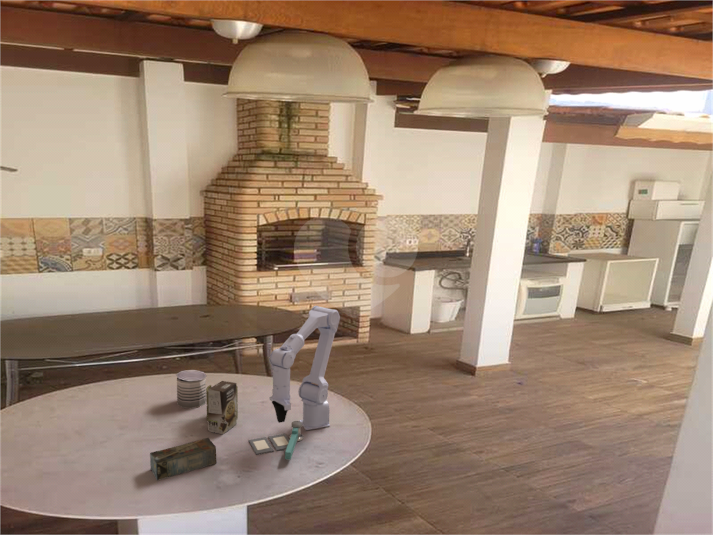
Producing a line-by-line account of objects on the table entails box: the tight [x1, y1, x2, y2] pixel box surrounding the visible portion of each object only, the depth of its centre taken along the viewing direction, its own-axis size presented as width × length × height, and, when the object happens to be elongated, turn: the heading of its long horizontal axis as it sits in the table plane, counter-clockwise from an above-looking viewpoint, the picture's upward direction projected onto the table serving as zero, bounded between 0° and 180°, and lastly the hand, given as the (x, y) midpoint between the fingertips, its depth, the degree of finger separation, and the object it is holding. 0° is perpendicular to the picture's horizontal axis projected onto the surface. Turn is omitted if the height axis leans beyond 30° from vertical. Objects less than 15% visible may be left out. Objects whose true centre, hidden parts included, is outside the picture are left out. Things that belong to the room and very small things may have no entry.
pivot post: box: [288, 427, 305, 443], centre depth 195 cm, size 5×5×4 cm
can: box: [175, 369, 208, 409], centre depth 220 cm, size 11×11×12 cm
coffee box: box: [208, 380, 238, 435], centre depth 200 cm, size 9×6×16 cm
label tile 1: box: [248, 436, 275, 456], centre depth 189 cm, size 6×10×1 cm, turn 25°
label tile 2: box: [267, 433, 290, 452], centre depth 192 cm, size 6×10×1 cm, turn 25°
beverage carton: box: [149, 437, 217, 481], centre depth 175 cm, size 8×19×7 cm, turn 124°
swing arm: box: [284, 420, 303, 461], centre depth 187 cm, size 19×4×4 cm, turn 177°
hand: (281, 421), depth 191 cm, fingers closed
